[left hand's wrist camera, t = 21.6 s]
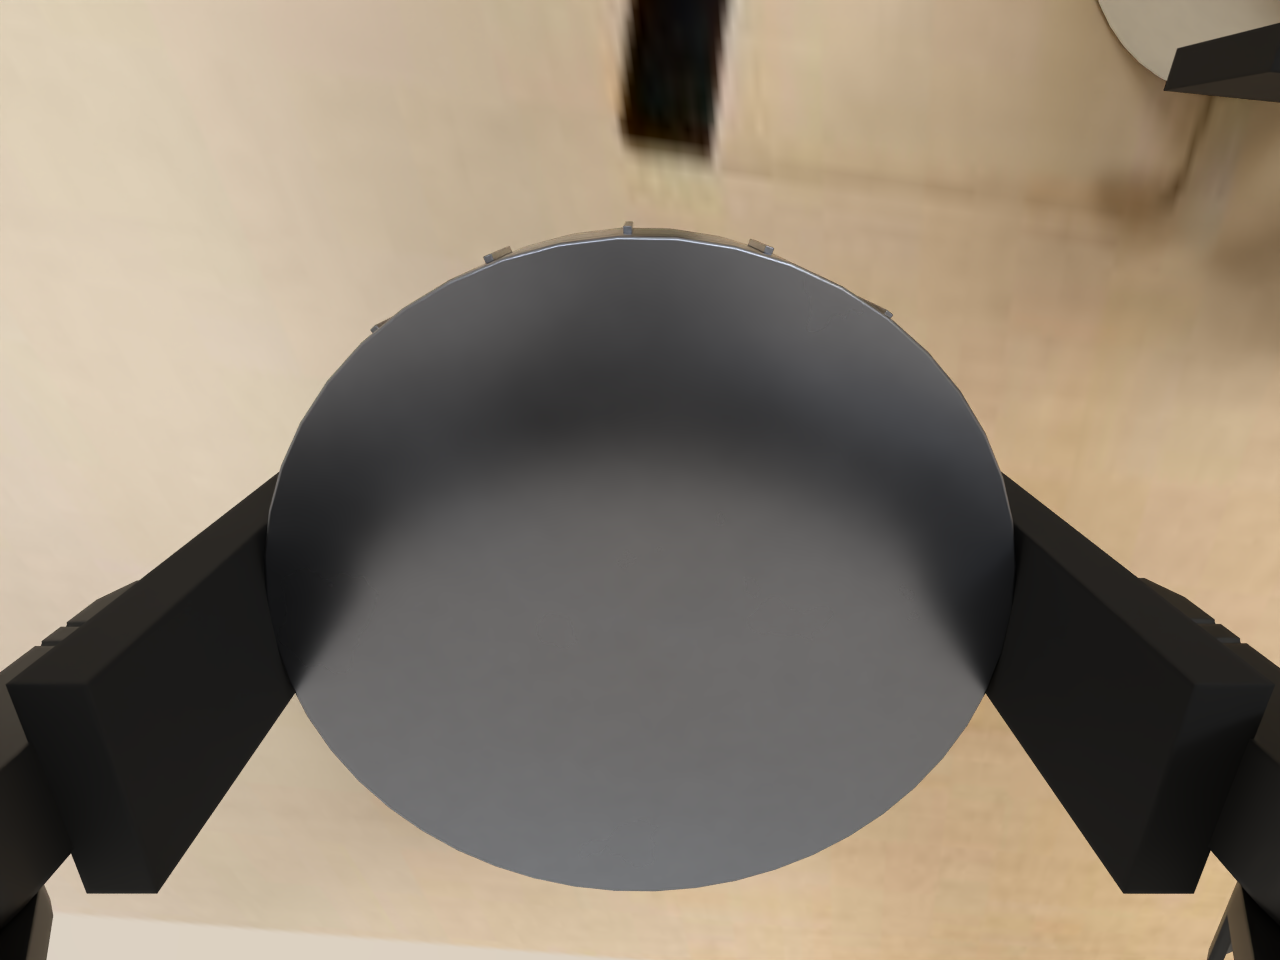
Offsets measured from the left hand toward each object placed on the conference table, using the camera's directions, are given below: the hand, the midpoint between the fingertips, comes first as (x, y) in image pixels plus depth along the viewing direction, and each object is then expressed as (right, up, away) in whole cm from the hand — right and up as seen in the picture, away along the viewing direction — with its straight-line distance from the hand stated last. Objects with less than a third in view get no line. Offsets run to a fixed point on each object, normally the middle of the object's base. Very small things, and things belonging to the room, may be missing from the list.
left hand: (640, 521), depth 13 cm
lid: (0, -1, -3) cm, 3 cm away
